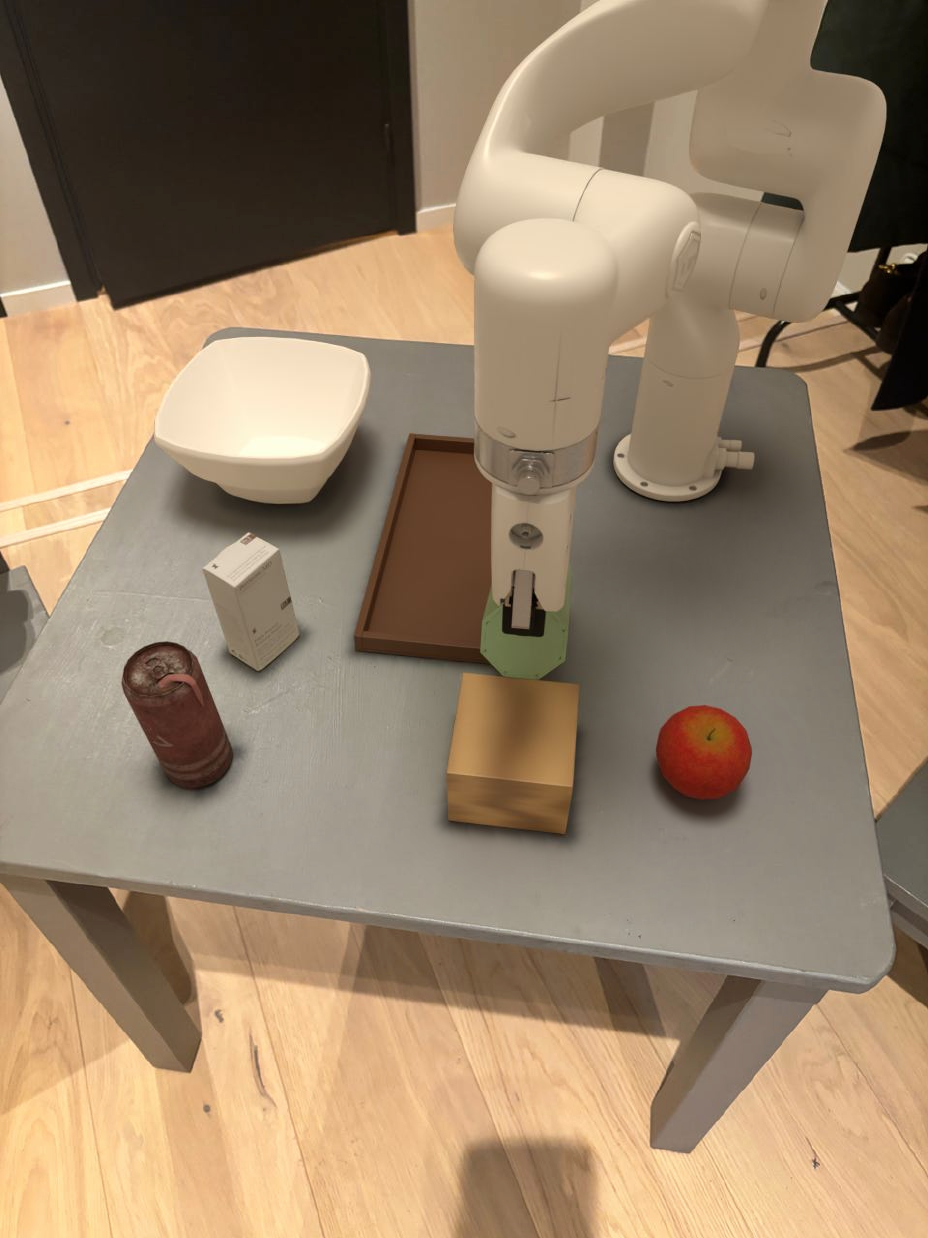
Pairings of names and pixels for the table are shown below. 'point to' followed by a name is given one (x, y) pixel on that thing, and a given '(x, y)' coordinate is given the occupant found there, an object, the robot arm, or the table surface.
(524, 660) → the green cup
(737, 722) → the apple
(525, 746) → the block
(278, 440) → the bowl
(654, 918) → the table surface
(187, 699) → the can
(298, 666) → the table surface
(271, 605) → the cosmetic box
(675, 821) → the table surface
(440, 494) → the tray
